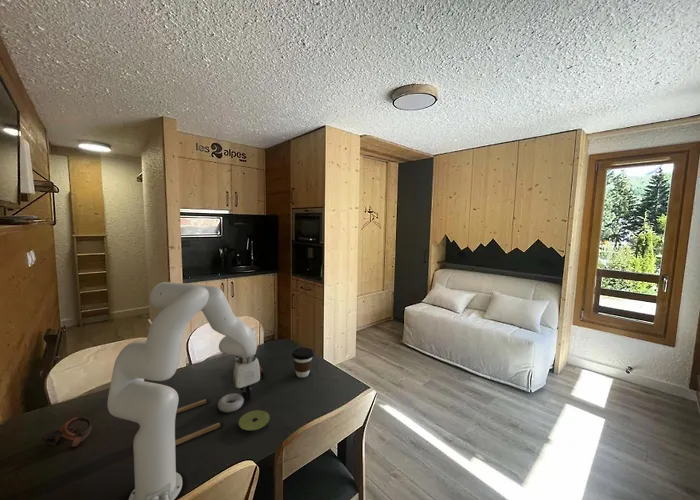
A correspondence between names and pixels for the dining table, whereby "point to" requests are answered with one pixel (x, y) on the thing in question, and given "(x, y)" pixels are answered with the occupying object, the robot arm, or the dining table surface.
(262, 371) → the sunglasses case
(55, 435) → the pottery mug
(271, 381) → the dining table surface
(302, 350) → the coffee cup
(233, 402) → the donut
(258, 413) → the mat
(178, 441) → the frame
